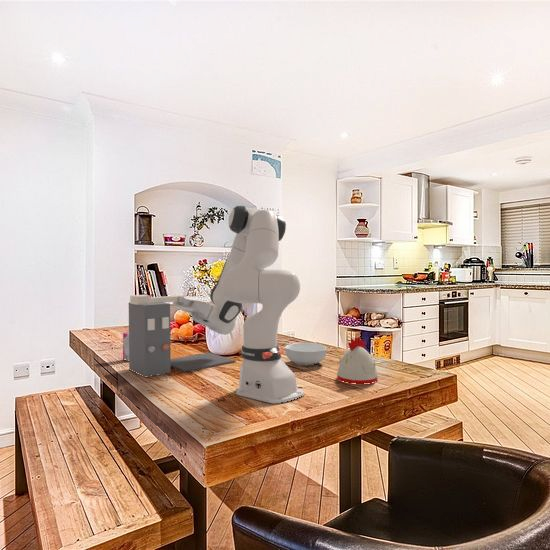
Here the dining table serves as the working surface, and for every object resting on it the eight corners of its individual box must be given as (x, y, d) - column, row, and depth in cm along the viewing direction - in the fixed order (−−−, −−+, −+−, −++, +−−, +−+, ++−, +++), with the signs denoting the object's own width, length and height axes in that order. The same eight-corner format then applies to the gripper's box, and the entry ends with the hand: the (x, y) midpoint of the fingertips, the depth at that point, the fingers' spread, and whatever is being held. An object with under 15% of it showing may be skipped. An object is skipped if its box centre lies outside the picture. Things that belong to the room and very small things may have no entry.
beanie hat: (329, 378, 149) (329, 336, 149) (355, 372, 158) (356, 332, 157) (358, 387, 138) (358, 342, 138) (385, 380, 146) (385, 338, 146)
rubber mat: (235, 362, 173) (235, 360, 173) (184, 372, 157) (184, 370, 157) (209, 354, 188) (209, 352, 188) (159, 362, 172) (159, 360, 172)
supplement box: (142, 359, 178) (141, 332, 177) (129, 362, 173) (128, 334, 173) (135, 357, 182) (135, 331, 181) (122, 359, 177) (122, 333, 177)
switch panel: (171, 373, 156) (171, 303, 155) (146, 378, 149) (145, 305, 148) (153, 365, 167) (153, 300, 166) (129, 370, 160) (128, 302, 159)
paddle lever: (186, 301, 165) (185, 293, 165) (137, 304, 151) (137, 296, 151) (178, 300, 169) (178, 292, 169) (130, 303, 156) (130, 295, 156)
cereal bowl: (276, 363, 170) (276, 346, 170) (302, 357, 183) (302, 341, 182) (309, 371, 159) (309, 352, 159) (334, 363, 171) (334, 346, 171)
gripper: (192, 303, 182) (167, 289, 174) (219, 307, 167) (192, 291, 159) (186, 317, 180) (160, 302, 172) (212, 322, 165) (185, 306, 157)
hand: (175, 297), depth 165 cm, fingers closed on paddle lever, 3 cm apart
